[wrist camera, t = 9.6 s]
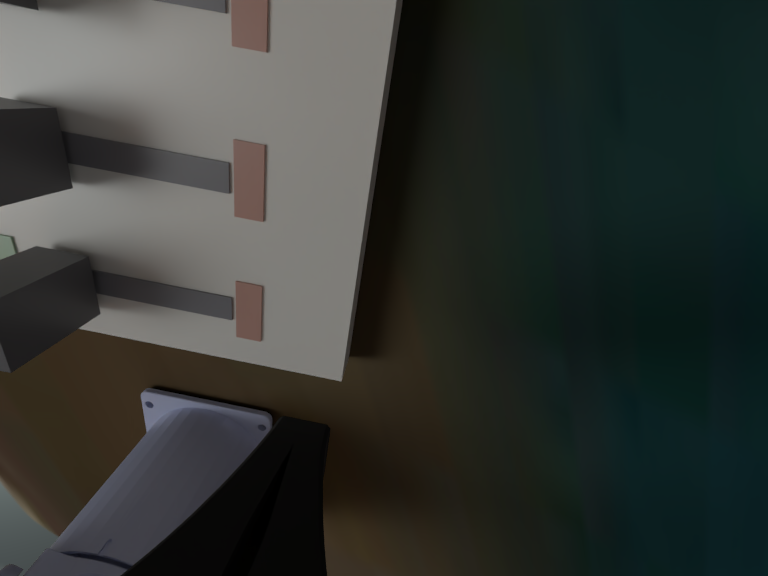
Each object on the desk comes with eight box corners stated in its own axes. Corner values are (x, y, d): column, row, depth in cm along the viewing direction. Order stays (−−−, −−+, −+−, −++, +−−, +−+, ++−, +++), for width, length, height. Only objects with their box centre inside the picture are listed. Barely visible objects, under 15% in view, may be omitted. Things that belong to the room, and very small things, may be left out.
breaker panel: (348, 357, 21) (341, 382, 19) (-40, 279, 21) (-84, 297, 20) (414, -76, 13) (411, -107, 11) (-216, -186, 13) (-323, -233, 11)
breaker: (100, 313, 18) (11, 372, 14) (52, 304, 18) (-51, 360, 14) (88, 256, 17) (-14, 303, 13) (36, 245, 17) (-82, 290, 13)
